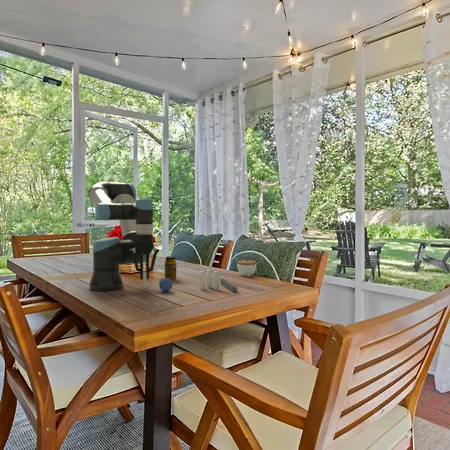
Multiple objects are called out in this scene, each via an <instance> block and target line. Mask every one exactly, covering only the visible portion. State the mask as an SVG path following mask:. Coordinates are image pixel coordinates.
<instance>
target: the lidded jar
mask: <svg viewBox="0 0 450 450" xmlns="http://www.w3.org/2000/svg"><path fill="white" fill-rule="evenodd" d="M256 269H257V261H256V260H250V259H248V258H245V259H243V260H237V271H238V272H239V274H240V275H241V276H242V275H246V276H245V277H249V276H248V275H252V276H253V275H254V274H255V272H256Z"/></svg>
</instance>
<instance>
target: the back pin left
mask: <svg viewBox="0 0 450 450" xmlns="http://www.w3.org/2000/svg"><path fill="white" fill-rule="evenodd" d="M206 273H207V276H206V288H207V289H213V269H206Z"/></svg>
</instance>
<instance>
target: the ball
mask: <svg viewBox="0 0 450 450" xmlns="http://www.w3.org/2000/svg"><path fill="white" fill-rule="evenodd" d="M163 278H164V279H162V280H160V281H159V283H158V285H159V289H160V290H161V291H162V292H169V291H171V289H172V288H173V285H174V284H173V281H171V280H170V279H168V278H165V277H163Z"/></svg>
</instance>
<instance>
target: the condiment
mask: <svg viewBox="0 0 450 450" xmlns="http://www.w3.org/2000/svg"><path fill="white" fill-rule="evenodd" d="M164 261H165V262H164V277H163V278H162V277H161V278H160V277H159V280H160V281H161V280H162V279H164V278H168V279H170V280H171V281H172V282H173V281H179V280H180V279H179V278H177V259H176V256H170V255H169V256H166V257H165V260H164Z"/></svg>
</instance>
